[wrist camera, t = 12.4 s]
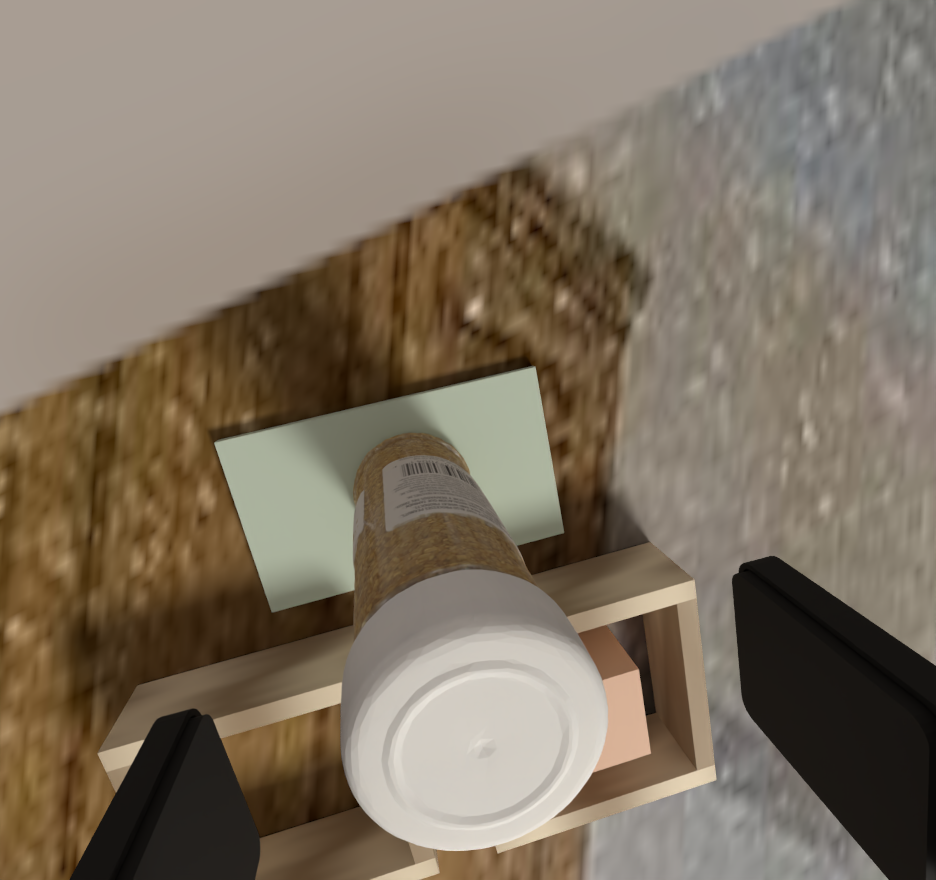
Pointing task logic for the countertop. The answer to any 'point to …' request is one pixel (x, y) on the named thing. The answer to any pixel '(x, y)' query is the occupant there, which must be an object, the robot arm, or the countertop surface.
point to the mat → (339, 456)
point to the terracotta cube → (618, 699)
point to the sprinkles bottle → (457, 663)
